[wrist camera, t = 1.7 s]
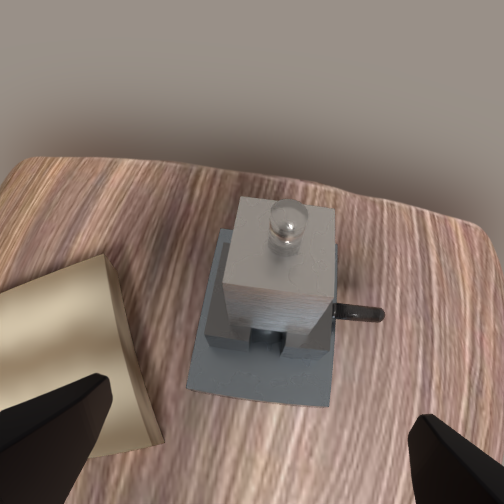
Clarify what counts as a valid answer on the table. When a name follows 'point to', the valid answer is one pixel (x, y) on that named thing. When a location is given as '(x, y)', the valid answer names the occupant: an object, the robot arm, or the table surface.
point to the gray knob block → (280, 265)
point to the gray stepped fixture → (265, 349)
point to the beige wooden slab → (76, 348)
